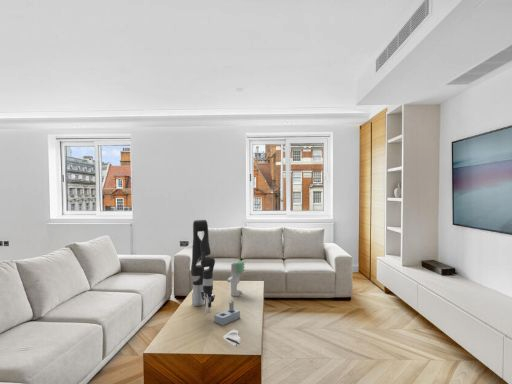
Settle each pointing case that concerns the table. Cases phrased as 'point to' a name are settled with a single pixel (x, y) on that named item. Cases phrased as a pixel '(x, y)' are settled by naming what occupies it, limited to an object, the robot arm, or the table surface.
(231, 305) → the grey peg
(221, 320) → the hole block
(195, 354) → the table surface
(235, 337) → the cloth
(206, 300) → the cream peg
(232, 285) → the toy
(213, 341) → the table surface
